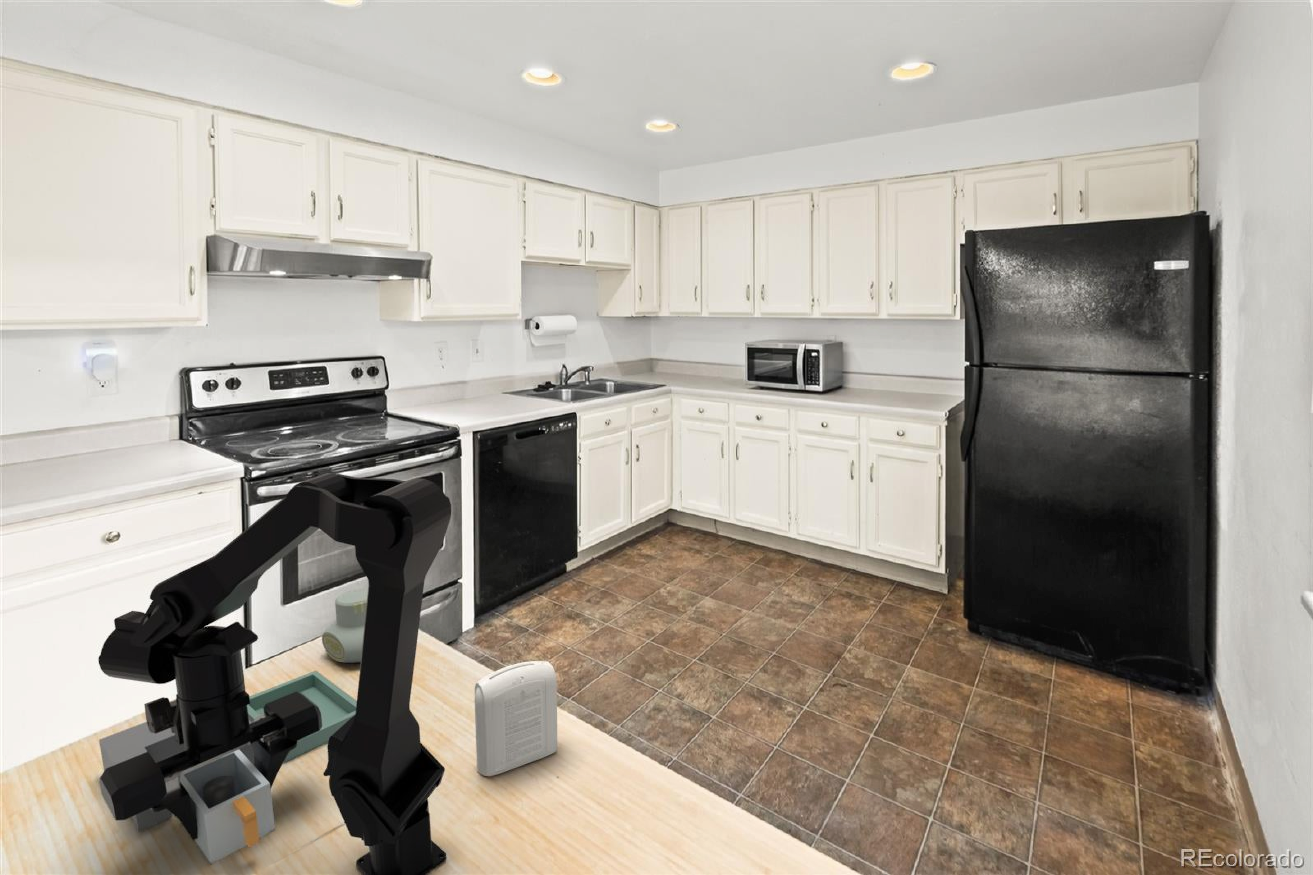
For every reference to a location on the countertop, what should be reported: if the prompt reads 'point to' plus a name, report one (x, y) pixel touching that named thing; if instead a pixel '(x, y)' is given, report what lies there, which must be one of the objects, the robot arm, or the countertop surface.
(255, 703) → the tray
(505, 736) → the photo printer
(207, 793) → the dark grey rounded piece
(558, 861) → the countertop surface
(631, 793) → the countertop surface
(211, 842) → the toner caddy
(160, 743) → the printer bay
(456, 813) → the countertop surface
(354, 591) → the air freshener
